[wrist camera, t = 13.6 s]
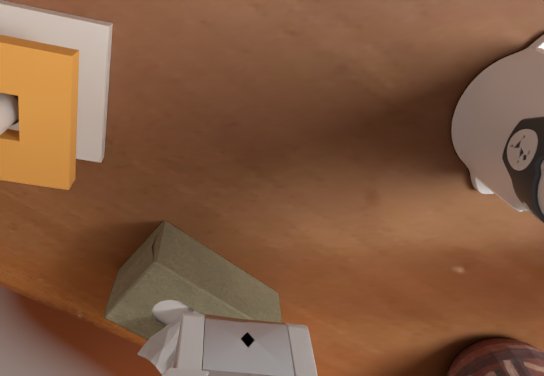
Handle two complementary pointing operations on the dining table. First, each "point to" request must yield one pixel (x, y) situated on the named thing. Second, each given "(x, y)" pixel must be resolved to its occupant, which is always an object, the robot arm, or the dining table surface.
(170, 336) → the tissue box
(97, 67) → the post stand
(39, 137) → the collar
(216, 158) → the dining table surface
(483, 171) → the robot arm
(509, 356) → the pottery
